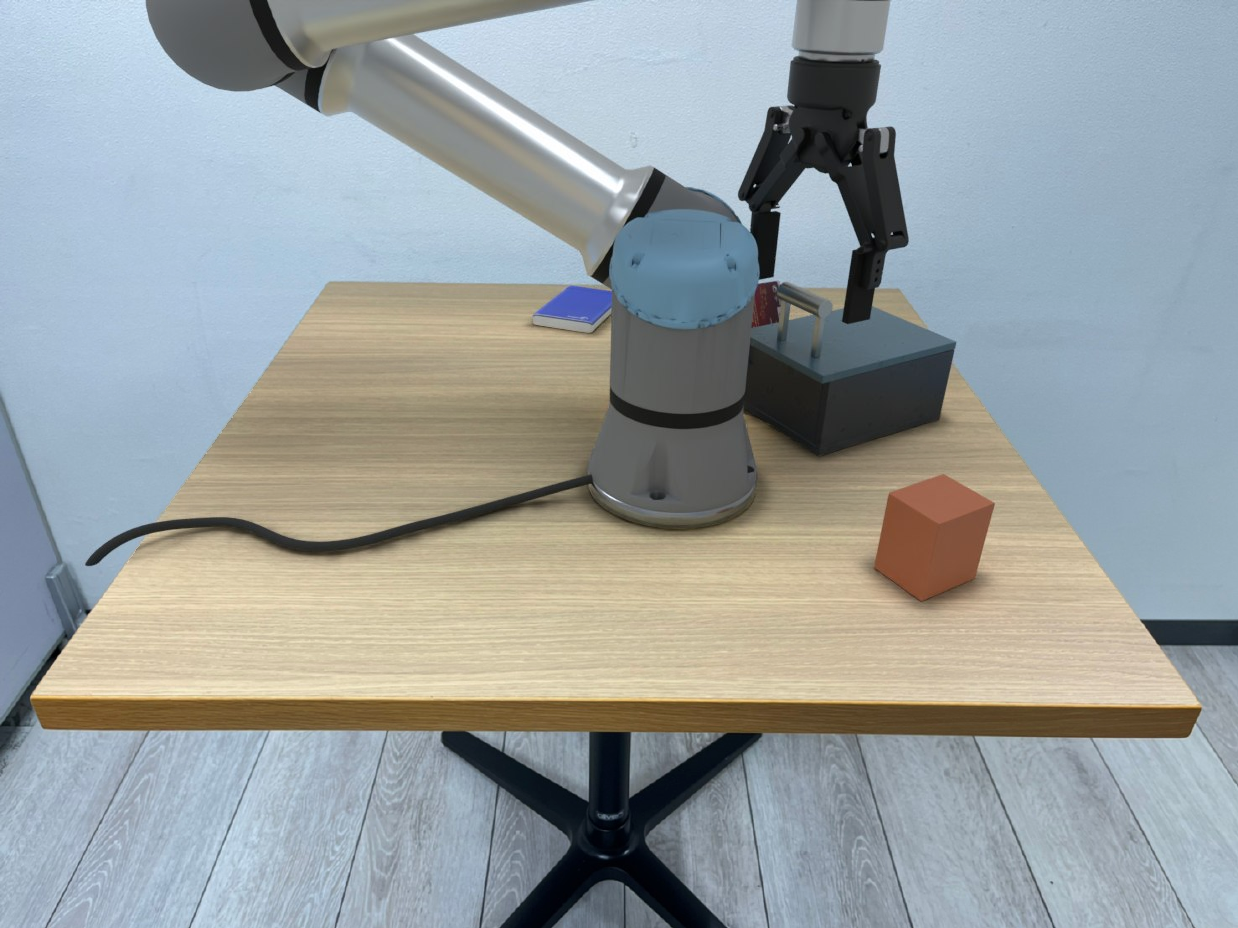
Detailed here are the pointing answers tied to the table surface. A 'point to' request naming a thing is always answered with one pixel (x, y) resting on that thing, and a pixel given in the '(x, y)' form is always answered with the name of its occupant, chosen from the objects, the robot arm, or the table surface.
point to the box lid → (841, 338)
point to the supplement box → (766, 304)
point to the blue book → (576, 309)
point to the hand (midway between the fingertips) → (805, 298)
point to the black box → (845, 400)
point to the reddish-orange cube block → (933, 536)
